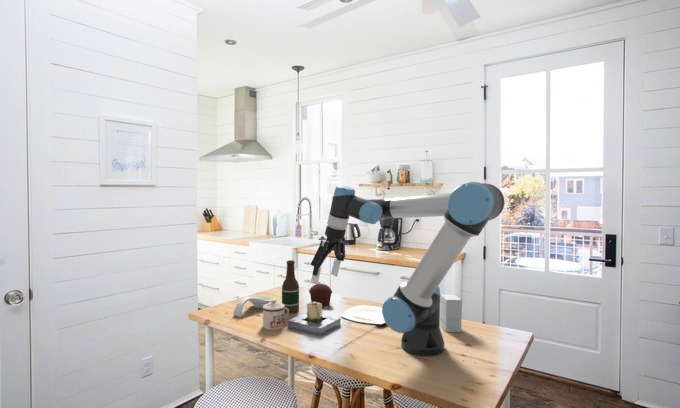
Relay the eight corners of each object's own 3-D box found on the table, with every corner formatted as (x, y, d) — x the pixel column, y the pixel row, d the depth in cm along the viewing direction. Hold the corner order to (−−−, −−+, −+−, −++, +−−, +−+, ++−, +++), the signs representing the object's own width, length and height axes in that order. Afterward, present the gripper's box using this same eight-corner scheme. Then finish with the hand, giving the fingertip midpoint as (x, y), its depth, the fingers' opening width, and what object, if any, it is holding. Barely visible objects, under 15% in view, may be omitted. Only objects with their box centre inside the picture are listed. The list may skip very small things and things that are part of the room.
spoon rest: (261, 301, 192) (261, 287, 191) (280, 305, 186) (280, 290, 186) (227, 315, 171) (227, 299, 170) (248, 319, 165) (248, 303, 165)
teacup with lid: (271, 334, 148) (271, 304, 148) (257, 328, 154) (257, 299, 154) (295, 326, 157) (295, 298, 156) (281, 321, 163) (281, 294, 163)
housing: (340, 327, 155) (340, 317, 155) (320, 338, 144) (320, 328, 144) (309, 320, 164) (309, 311, 164) (287, 330, 152) (287, 320, 152)
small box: (461, 332, 151) (462, 299, 151) (445, 332, 151) (446, 300, 151) (454, 325, 159) (455, 294, 159) (439, 325, 159) (440, 294, 159)
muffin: (336, 304, 188) (336, 283, 188) (324, 309, 179) (324, 288, 178) (317, 300, 194) (317, 280, 194) (303, 305, 185) (304, 285, 185)
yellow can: (324, 325, 155) (324, 301, 154) (316, 330, 150) (316, 305, 149) (312, 322, 158) (313, 299, 158) (304, 327, 153) (304, 303, 153)
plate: (383, 331, 153) (383, 326, 153) (334, 321, 164) (334, 316, 164) (403, 315, 173) (403, 311, 173) (358, 307, 184) (358, 303, 184)
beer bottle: (302, 312, 175) (302, 260, 174) (291, 316, 168) (291, 263, 167) (289, 309, 179) (289, 258, 178) (278, 313, 172) (278, 261, 172)
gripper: (345, 220, 155) (334, 268, 159) (308, 227, 133) (296, 282, 138) (361, 226, 151) (349, 275, 155) (325, 234, 130) (313, 290, 134)
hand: (324, 278), depth 146 cm, fingers open, 13 cm apart
